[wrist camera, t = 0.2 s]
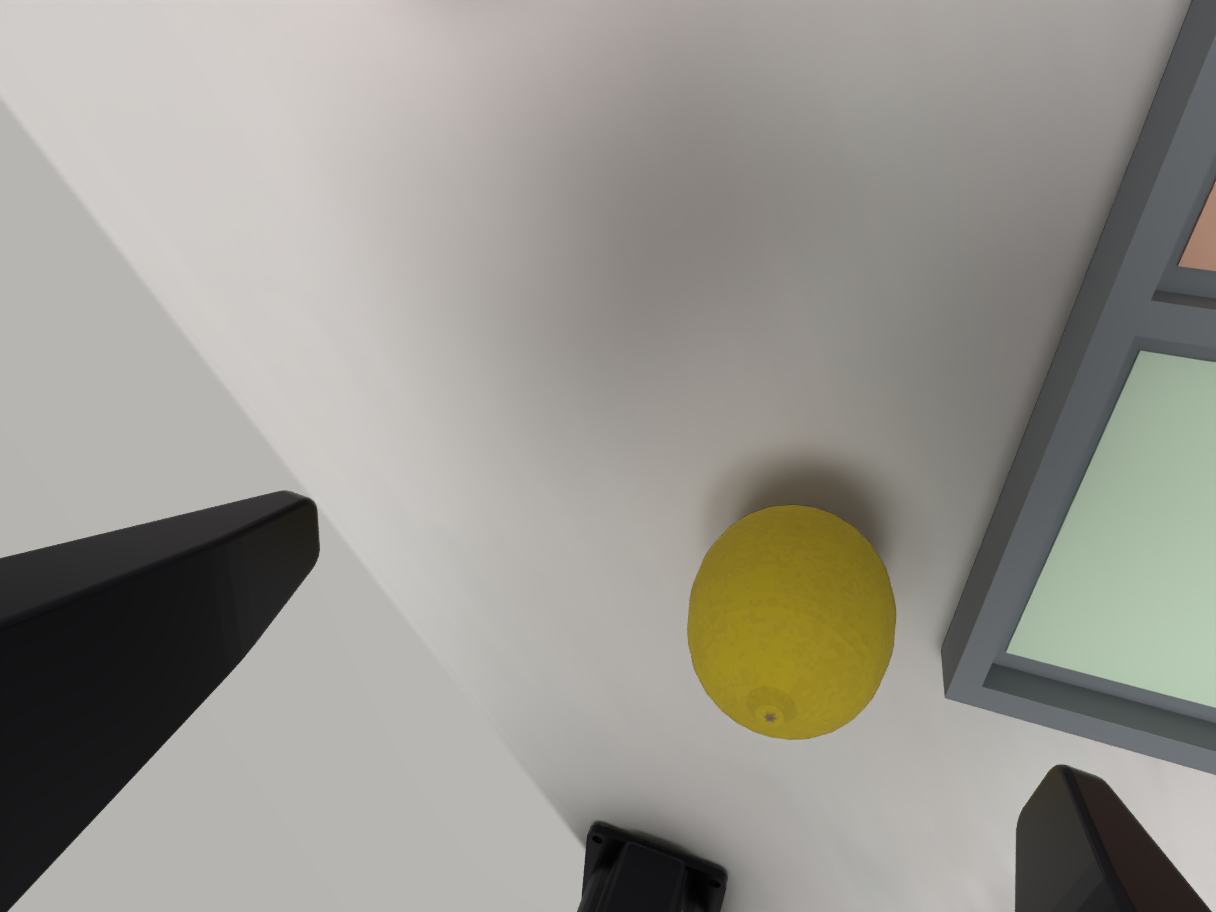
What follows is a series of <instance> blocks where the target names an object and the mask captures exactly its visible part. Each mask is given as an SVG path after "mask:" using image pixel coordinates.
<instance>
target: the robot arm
mask: <svg viewBox="0 0 1216 912" xmlns="http://www.w3.org/2000/svg"><path fill="white" fill-rule="evenodd" d="M319 551H320V542H319V527H318V512H317V506H316V504H315V502H314V501H313V500H312V499H310V498H308V497H305V496H302V495H300V494H297V493H294V492H291V491H278V492H273V493H270V494H265V495H261V496H257V497H253V498H249V499H245V500H240V501H236V502H232V503H228V504H224V505H220V506H215V507H211V508H207V509H203V510H199V511H195V512H191V513H186V514H183V515H178V516H174V517H170V518H165V519H161V520H157V521H153V522H150V523H145V524H141V525H136V526H132V527H129V528H124V529H120V530H116V531H112V532H107V533H104V534H99V535H95V536H91V537H87V538H83V539H78V540H74V541H70V542H66V543H62V544H57V545H53V546H49V547H45V548H41V549H37V550H33V551H28V552H25V553H20V554H16V555H12V556H8V557H3V558H0V912H8V911H9V909H10V908H11V907H12V906H13V905H14V904H15V903H16V902H17V901H18V900H19V899H20V898H21V897H22V895H24V893H25V892H26V891H27V890H28V889H29V888H30V887H31V886H32V885H33V884H34V883H35V882H36V881H37V879H38V878H39V877H40V876H41V875H42V874H43V873H44V872H45V871H46V870H47V869H48V868H49V867H50V865H52V863H53V862H54V861H55V860H56V859H57V858H58V857H59V856H60V855H61V854H62V853H63V852H64V851H65V850H66V848H67V847H68V846H69V845H70V844H71V843H72V842H73V841H74V840H75V839H76V838H77V837H78V836H79V834H80V833H81V832H82V831H83V830H84V829H85V828H86V827H87V826H88V825H89V824H90V823H91V822H92V821H93V820H94V818H95V817H96V816H97V815H98V814H99V813H100V812H101V811H102V810H103V809H104V808H105V807H106V806H107V804H108V803H109V802H110V801H111V800H112V799H113V798H114V797H115V796H116V795H117V794H118V793H119V792H120V791H121V790H122V788H123V787H124V786H125V785H126V784H127V783H128V782H129V781H130V780H131V779H132V778H133V777H134V776H135V775H136V774H137V772H138V771H139V770H140V769H141V768H142V767H143V766H144V765H145V764H146V763H147V762H148V761H149V759H150V758H151V757H152V756H153V755H154V754H155V753H156V752H157V751H158V750H159V749H160V748H161V747H162V745H163V744H165V742H166V741H167V740H168V739H169V738H170V737H171V736H172V735H173V734H174V733H175V732H176V731H177V730H178V729H179V727H180V726H181V725H182V724H183V723H184V722H185V721H186V720H187V719H188V718H189V717H190V716H191V715H192V713H194V711H195V710H196V709H197V708H198V707H199V706H200V705H201V704H202V703H203V702H204V701H205V700H206V699H207V697H208V696H209V695H210V694H211V693H212V692H213V691H214V690H215V689H216V688H217V687H218V686H219V685H220V684H221V683H222V681H223V680H224V679H225V678H226V677H227V676H228V675H229V674H230V673H231V672H232V670H233V669H234V668H235V667H236V666H237V665H238V664H239V663H240V662H241V660H242V659H243V658H244V657H245V656H246V654H247V653H248V652H249V651H250V650H251V648H252V647H253V646H254V645H255V643H256V642H257V641H258V640H259V638H260V637H261V636H262V634H263V633H264V632H265V630H266V629H267V628H268V626H269V625H270V624H271V623H272V621H273V620H274V619H275V617H276V616H277V615H278V613H279V612H280V611H281V609H282V608H283V607H284V605H285V604H286V603H287V602H288V600H289V599H290V598H291V596H292V595H293V594H294V592H295V591H296V590H297V588H298V587H299V586H300V585H301V583H302V582H303V581H304V579H305V578H306V577H307V575H308V574H309V573H310V572H311V570H312V569H313V567H314V566H315V564H316V562H317V559H318V557H319ZM727 881H728V877H727V875H726V873H724V872H723V871H722V870H720V869H718V868H715V867H712V866H710V865H707V864H704V863H702V862H699V861H696V860H693V859H691V858H688V857H685V856H683V855H680V854H677V853H674V852H672V851H669V850H666V849H664V848H661V847H658V846H655V845H653V844H650V843H647V842H645V841H642V840H639V839H636V838H634V837H631V836H628V835H626V834H623V833H620V832H617V831H615V830H612V829H609V828H607V827H604V826H601V825H592V826H591V828H590V830H589V832H588V835H587V843H586V854H585V865H584V877H583V888H582V900H581V902H580V905H579V908H578V910H577V912H720V910H721V906H722V902H723V898H724V894H725V890H726V886H727ZM1015 912H1212V911H1211V910H1210V909H1209V908H1208V906H1207V905H1206V904H1205V903H1204V902H1203V900H1202V899H1201V898H1200V897H1199V895H1198V894H1197V893H1196V892H1195V891H1194V889H1193V888H1192V887H1191V886H1190V884H1189V883H1188V882H1187V881H1186V879H1185V878H1184V877H1183V876H1182V875H1181V873H1180V872H1179V871H1178V870H1177V868H1176V867H1175V866H1174V865H1173V863H1172V862H1171V861H1170V860H1169V859H1168V857H1167V856H1166V855H1165V854H1164V852H1163V851H1162V850H1161V849H1160V847H1159V846H1158V845H1157V844H1156V843H1155V841H1154V840H1153V839H1152V838H1151V836H1150V835H1149V834H1148V833H1147V831H1146V830H1145V829H1144V828H1143V827H1142V825H1141V824H1140V823H1139V822H1138V820H1137V819H1136V818H1135V817H1134V815H1133V814H1132V813H1131V812H1130V811H1129V809H1128V808H1127V807H1126V806H1125V804H1124V803H1123V802H1122V801H1121V799H1120V798H1119V797H1118V796H1117V795H1116V793H1115V792H1114V791H1113V790H1112V788H1111V787H1110V786H1109V785H1108V784H1107V783H1106V782H1105V781H1104V780H1103V779H1102V778H1100V777H1098V776H1096V775H1093V774H1090V773H1087V772H1085V771H1082V770H1079V769H1076V768H1073V767H1070V766H1068V765H1056V766H1054V767H1053V768H1052V769H1051V770H1050V771H1049V772H1048V773H1047V775H1046V776H1045V777H1044V779H1043V780H1042V782H1041V783H1040V785H1039V786H1038V787H1037V789H1036V790H1035V792H1034V793H1033V795H1032V796H1031V797H1030V799H1029V800H1028V802H1027V803H1026V805H1025V806H1024V807H1023V809H1022V811H1021V813H1020V816H1019V819H1018V822H1017V828H1016V874H1015Z"/></svg>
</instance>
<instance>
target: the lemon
mask: <svg viewBox="0 0 1216 912" xmlns="http://www.w3.org/2000/svg"><path fill="white" fill-rule="evenodd" d="M895 624H896V606H895V600H894V596H893V592H892V588H891V583H890V579H889V576H888V573H887V570H886V568H885V566H884V564H883V563H882V561H881V559H880V558H879V556H878V554H877V553H876V551H875V549H874V548H873V546H872V545H871V544H870V542H869V541H868V540H867V539H866V538H865V537H864V536H863V535H862V534H861V533H860V532H859V531H858V530H857V529H856V528H855V527H854V526H852V525H850V524H849V523H847V522H845V521H844V520H842V519H841V518H839V517H837V516H836V515H834V514H832V513H829V512H826V511H823V510H820V509H817V508H814V507H808V506H800V505H784V506H773V507H768V508H765V509H762V510H759V511H756V512H753V513H751V514H749V515H747V516H746V517H744V518H742V519H741V520H739V521H738V522H736V523H735V524H733V525H732V526H730V527H729V528H728V529H727V530H726V531H725V532H724V533H723V534H722V535H721V536H720V538H719V539H718V540H717V541H716V542H715V543H714V544H713V546H712V547H711V548H710V549H709V551H708V552H707V554H706V555H705V557H704V559H703V562H702V564H701V566H700V569H699V571H698V573H697V576H696V578H695V580H694V583H693V586H692V590H691V595H690V603H689V615H688V644H689V649H690V653H691V658H692V662H693V666H694V670H695V672H696V674H697V676H698V678H699V680H700V682H701V684H702V686H703V688H704V689H705V691H706V693H707V694H708V696H709V697H710V698H711V699H712V700H713V701H714V703H715V704H716V705H717V706H718V707H719V708H720V709H721V710H722V711H723V712H724V713H725V714H726V715H728V716H729V717H730V718H731V719H733V720H734V721H735V722H737V723H738V724H740V725H742V726H744V727H746V728H748V729H750V730H752V731H753V732H756V733H759V734H763V735H766V736H769V737H773V738H781V739H788V740H796V739H810V738H813V737H817V736H821V735H824V734H828V733H831V732H833V731H835V730H837V729H838V728H840V727H842V726H844V725H846V724H847V723H849V722H850V721H851V720H853V719H854V718H855V717H856V716H857V715H858V714H859V713H860V712H861V711H862V710H863V709H864V708H865V707H866V706H867V704H868V703H869V702H870V701H871V700H872V698H873V697H874V695H875V693H876V691H877V689H878V687H879V685H880V683H881V680H882V678H883V676H884V674H885V672H886V669H887V667H888V665H889V662H890V659H891V655H892V651H893V646H894V636H895Z"/></svg>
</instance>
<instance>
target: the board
mask: <svg viewBox="0 0 1216 912" xmlns="http://www.w3.org/2000/svg"><path fill="white" fill-rule="evenodd" d="M941 656H942V668H943V681H944V693H945V698H947V699H951V700H954V701H958V702H961V703H965V704H968V705H972V706H975V707H979V708H982V709H986V710H989V711H993V712H996V713H1000V714H1003V715H1007V716H1010V717H1014V718H1017V719H1021V720H1024V721H1028V722H1031V723H1035V724H1039V725H1042V726H1046V727H1049V728H1053V729H1056V730H1060V731H1063V732H1067V733H1070V734H1074V735H1077V736H1081V737H1084V738H1088V739H1091V740H1095V741H1098V742H1102V743H1105V744H1109V745H1112V746H1116V747H1119V748H1123V749H1126V750H1130V751H1134V752H1137V753H1141V754H1144V755H1148V756H1151V757H1155V758H1158V759H1162V760H1165V761H1169V762H1172V763H1176V764H1179V765H1183V766H1186V767H1190V768H1193V769H1197V770H1200V771H1204V772H1207V773H1211V774H1214V775H1216V0H1192V3H1191V5H1190V8H1189V11H1188V13H1187V16H1186V18H1185V21H1184V24H1183V26H1182V29H1181V31H1180V34H1179V36H1178V39H1177V42H1176V44H1175V47H1174V49H1173V52H1172V55H1171V57H1170V60H1169V62H1168V65H1167V67H1166V70H1165V73H1164V75H1163V78H1162V80H1161V83H1160V86H1159V88H1158V91H1157V93H1156V96H1155V98H1154V101H1153V104H1152V106H1151V109H1150V111H1149V114H1148V117H1147V119H1146V122H1145V124H1144V127H1143V129H1142V132H1141V135H1140V137H1139V140H1138V142H1137V145H1136V148H1135V150H1134V153H1133V155H1132V158H1131V160H1130V163H1129V166H1128V168H1127V171H1126V173H1125V176H1124V178H1123V181H1122V184H1121V186H1120V189H1119V191H1118V194H1117V197H1116V199H1115V202H1114V204H1113V207H1112V209H1111V212H1110V215H1109V217H1108V220H1107V222H1106V225H1105V228H1104V230H1103V233H1102V235H1101V238H1100V240H1099V243H1098V246H1097V248H1096V251H1095V253H1094V256H1093V259H1092V261H1091V264H1090V266H1089V269H1088V271H1087V274H1086V277H1085V279H1084V282H1083V284H1082V287H1081V290H1080V292H1079V295H1078V297H1077V300H1076V302H1075V305H1074V308H1073V310H1072V313H1071V315H1070V318H1069V321H1068V323H1067V326H1066V328H1065V331H1064V333H1063V336H1062V339H1061V341H1060V344H1059V346H1058V349H1057V352H1056V354H1055V357H1054V359H1053V362H1052V364H1051V367H1050V370H1049V372H1048V375H1047V377H1046V380H1045V383H1044V385H1043V388H1042V390H1041V393H1040V395H1039V398H1038V401H1037V403H1036V406H1035V408H1034V411H1033V414H1032V416H1031V419H1030V421H1029V424H1028V426H1027V429H1026V432H1025V434H1024V437H1023V439H1022V442H1021V445H1020V447H1019V450H1018V452H1017V455H1016V457H1015V460H1014V463H1013V465H1012V468H1011V470H1010V473H1009V475H1008V478H1007V481H1006V483H1005V486H1004V488H1003V491H1002V494H1001V496H1000V499H999V501H998V504H997V506H996V509H995V512H994V514H993V517H992V519H991V522H990V525H989V527H988V530H987V532H986V535H985V537H984V540H983V543H982V545H981V548H980V550H979V553H978V556H977V558H976V561H975V563H974V566H973V568H972V571H971V574H970V576H969V579H968V581H967V584H966V587H965V589H964V592H963V594H962V597H961V599H960V602H959V605H958V607H957V610H956V612H955V615H954V618H953V620H952V623H951V625H950V628H949V630H948V633H947V636H946V638H945V641H944V643H943V646H942V649H941Z"/></svg>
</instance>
